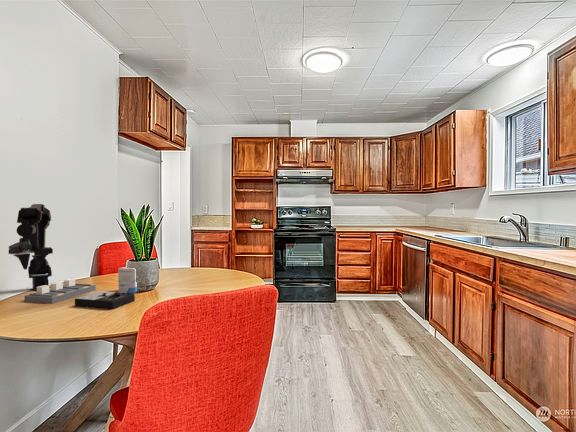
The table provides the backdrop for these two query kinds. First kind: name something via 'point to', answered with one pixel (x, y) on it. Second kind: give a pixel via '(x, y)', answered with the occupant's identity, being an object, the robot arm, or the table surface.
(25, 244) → the robot arm
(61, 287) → the tab
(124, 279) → the ink box
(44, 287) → the tab
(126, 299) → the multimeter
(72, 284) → the tab
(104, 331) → the table surface
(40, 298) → the switch bank
